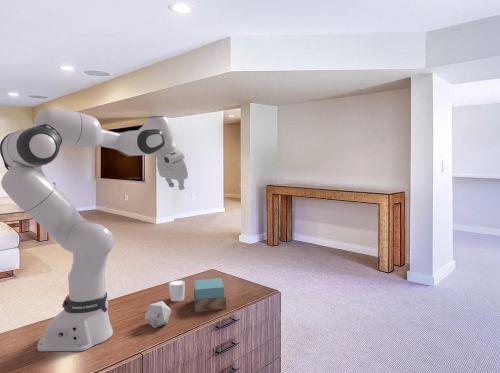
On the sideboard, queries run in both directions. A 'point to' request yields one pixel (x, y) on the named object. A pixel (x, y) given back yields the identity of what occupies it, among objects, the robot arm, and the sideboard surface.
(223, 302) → the tower base block
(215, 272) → the sideboard surface
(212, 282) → the tower top block
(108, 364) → the sideboard surface
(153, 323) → the die
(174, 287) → the white rimmed cylinder
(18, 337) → the sideboard surface
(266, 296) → the sideboard surface
